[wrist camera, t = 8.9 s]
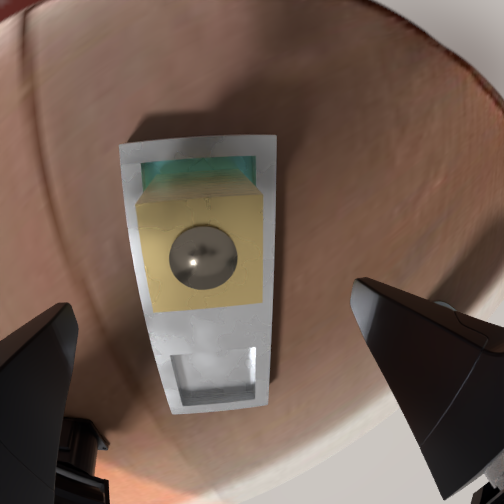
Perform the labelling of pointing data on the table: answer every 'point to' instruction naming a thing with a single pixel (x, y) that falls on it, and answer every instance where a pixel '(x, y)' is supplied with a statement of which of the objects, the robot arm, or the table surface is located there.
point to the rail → (210, 319)
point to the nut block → (202, 240)
